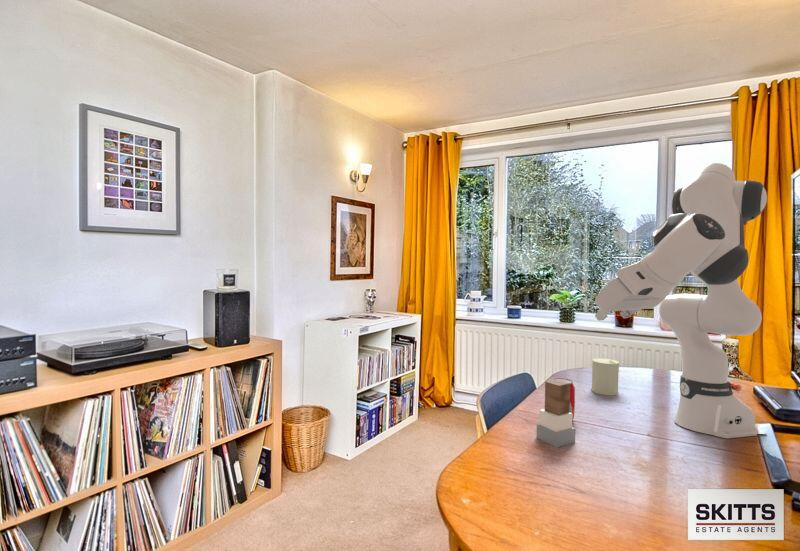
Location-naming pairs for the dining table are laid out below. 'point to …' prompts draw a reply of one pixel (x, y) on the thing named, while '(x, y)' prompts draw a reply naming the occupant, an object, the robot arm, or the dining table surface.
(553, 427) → the tower top
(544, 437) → the tower base
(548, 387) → the pillar
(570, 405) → the soda can
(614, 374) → the can
